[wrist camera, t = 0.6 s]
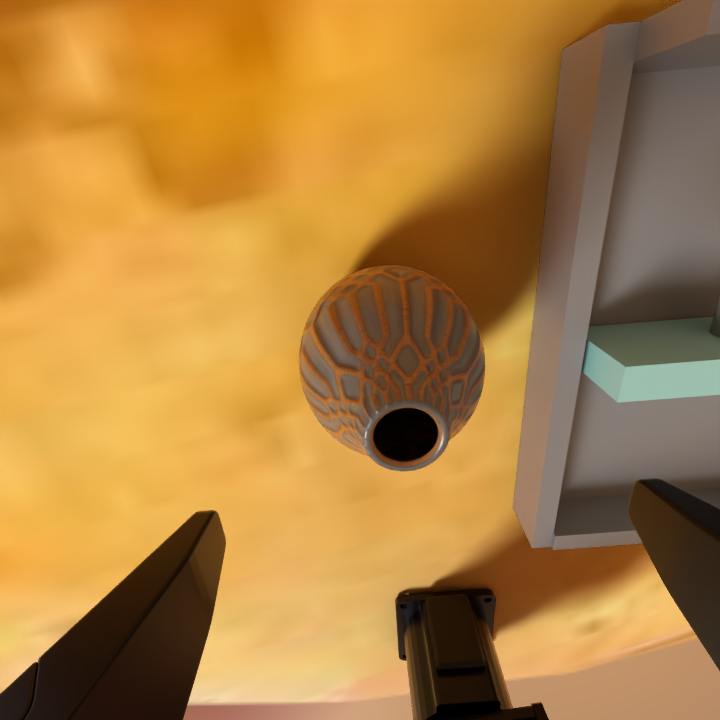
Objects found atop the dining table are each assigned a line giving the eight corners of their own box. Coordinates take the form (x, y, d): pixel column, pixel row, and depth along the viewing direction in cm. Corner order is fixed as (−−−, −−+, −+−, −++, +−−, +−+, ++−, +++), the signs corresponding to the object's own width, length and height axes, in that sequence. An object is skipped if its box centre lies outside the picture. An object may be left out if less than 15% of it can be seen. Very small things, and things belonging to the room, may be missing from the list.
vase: (467, 253, 18) (562, 321, 10) (446, 392, 21) (507, 532, 13) (307, 247, 17) (271, 313, 9) (309, 389, 20) (283, 529, 12)
